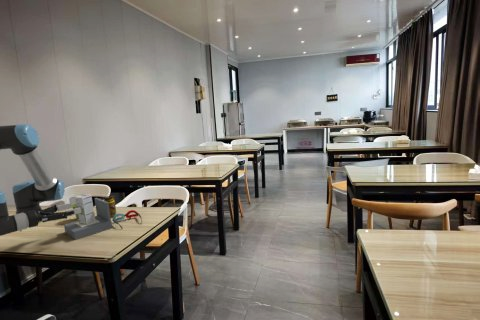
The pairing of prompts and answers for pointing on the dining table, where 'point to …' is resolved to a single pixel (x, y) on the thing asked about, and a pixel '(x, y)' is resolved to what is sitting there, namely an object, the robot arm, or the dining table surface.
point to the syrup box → (85, 209)
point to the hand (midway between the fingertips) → (76, 207)
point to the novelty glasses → (126, 216)
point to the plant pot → (74, 208)
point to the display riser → (97, 226)
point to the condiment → (111, 205)
